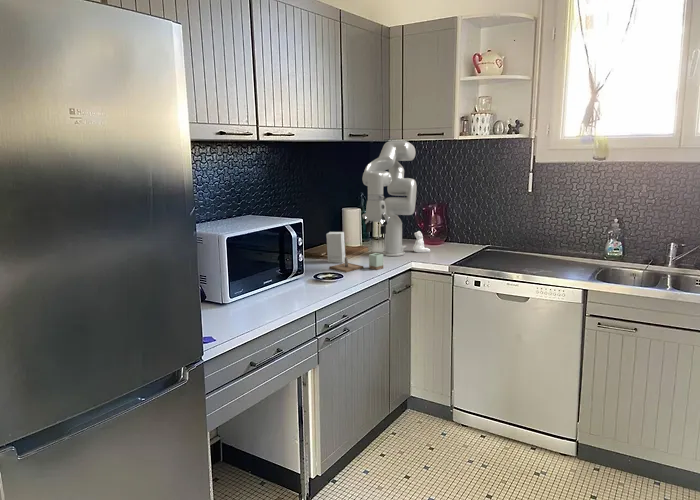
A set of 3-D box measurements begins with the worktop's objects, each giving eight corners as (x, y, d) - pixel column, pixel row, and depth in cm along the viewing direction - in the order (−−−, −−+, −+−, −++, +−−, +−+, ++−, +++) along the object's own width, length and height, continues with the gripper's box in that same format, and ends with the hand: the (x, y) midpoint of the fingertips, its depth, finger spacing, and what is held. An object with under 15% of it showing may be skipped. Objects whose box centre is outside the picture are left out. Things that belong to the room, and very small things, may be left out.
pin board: (346, 264, 275) (346, 254, 274) (363, 268, 266) (363, 257, 265) (329, 268, 267) (329, 257, 266) (346, 272, 258) (345, 261, 257)
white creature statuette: (431, 252, 300) (431, 231, 298) (417, 254, 297) (417, 232, 295) (422, 249, 309) (423, 229, 307) (409, 251, 306) (409, 230, 304)
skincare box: (345, 260, 284) (345, 231, 281) (342, 263, 278) (341, 233, 275) (330, 260, 286) (329, 231, 283) (326, 262, 280) (326, 233, 277)
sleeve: (376, 266, 269) (376, 253, 268) (383, 268, 265) (383, 254, 264) (369, 268, 266) (369, 254, 264) (376, 269, 262) (376, 255, 261)
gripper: (394, 198, 255) (394, 233, 258) (368, 196, 267) (368, 230, 270) (383, 199, 250) (383, 235, 253) (357, 197, 262) (357, 232, 265)
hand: (375, 233), depth 262 cm, fingers open, 9 cm apart
